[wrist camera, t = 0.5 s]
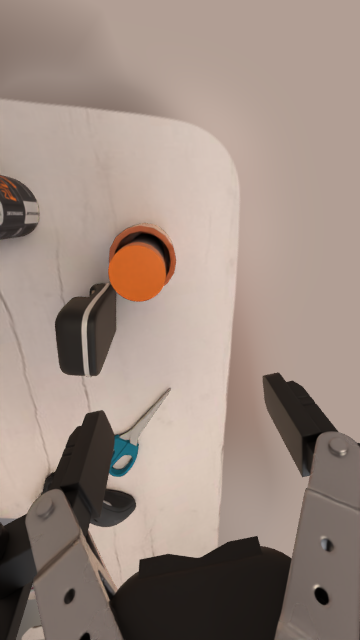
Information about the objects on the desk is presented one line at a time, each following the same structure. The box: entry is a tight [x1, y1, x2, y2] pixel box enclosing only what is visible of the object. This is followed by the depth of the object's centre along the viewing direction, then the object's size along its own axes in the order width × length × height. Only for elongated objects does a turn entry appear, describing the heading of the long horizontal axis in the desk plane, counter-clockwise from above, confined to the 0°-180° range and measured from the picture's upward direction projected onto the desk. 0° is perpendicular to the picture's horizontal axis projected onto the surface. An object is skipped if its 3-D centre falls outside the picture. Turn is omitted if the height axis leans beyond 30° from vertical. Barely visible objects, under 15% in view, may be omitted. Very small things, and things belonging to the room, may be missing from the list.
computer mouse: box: [41, 473, 136, 527], centre depth 45 cm, size 12×18×4 cm
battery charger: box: [55, 283, 116, 377], centre depth 27 cm, size 7×4×11 cm, turn 175°
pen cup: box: [109, 223, 176, 286], centre depth 27 cm, size 6×6×7 cm
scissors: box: [109, 388, 171, 477], centre depth 40 cm, size 7×1×20 cm
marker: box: [108, 234, 166, 301], centre depth 24 cm, size 4×4×12 cm
